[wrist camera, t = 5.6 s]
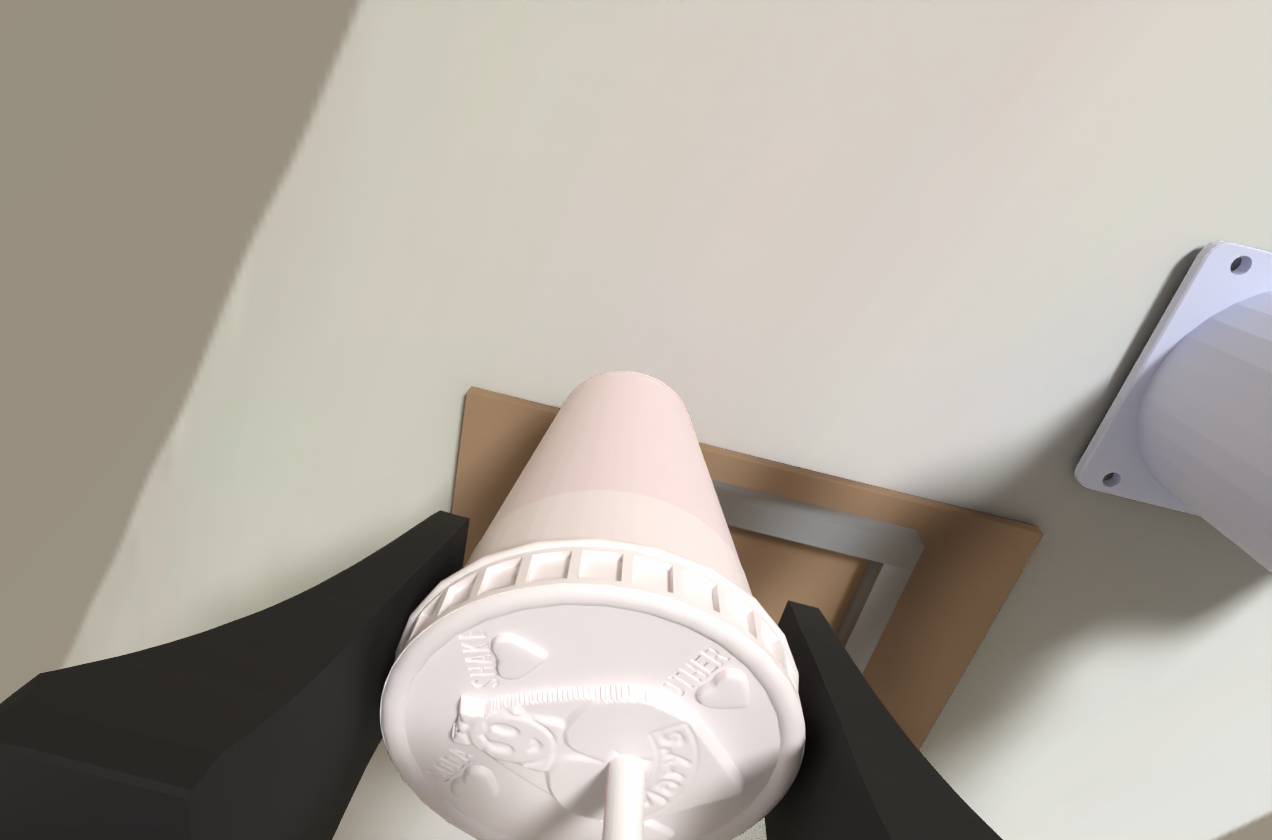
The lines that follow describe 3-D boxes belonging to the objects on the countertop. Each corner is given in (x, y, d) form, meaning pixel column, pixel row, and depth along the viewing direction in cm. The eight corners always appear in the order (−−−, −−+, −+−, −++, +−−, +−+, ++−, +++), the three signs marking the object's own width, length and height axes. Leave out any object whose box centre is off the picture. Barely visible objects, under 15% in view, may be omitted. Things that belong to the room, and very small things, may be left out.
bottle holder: (1036, 526, 23) (1057, 551, 22) (885, 792, 29) (893, 826, 27) (471, 386, 23) (456, 403, 22) (433, 680, 29) (420, 708, 27)
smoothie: (694, 549, 20) (746, 1313, 8) (487, 493, 20) (183, 1235, 7) (778, 363, 17) (1069, 1114, 5) (537, 289, 17) (168, 947, 4)
